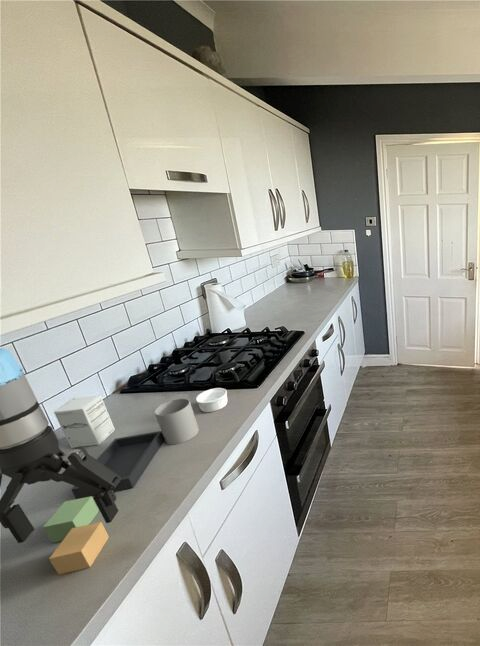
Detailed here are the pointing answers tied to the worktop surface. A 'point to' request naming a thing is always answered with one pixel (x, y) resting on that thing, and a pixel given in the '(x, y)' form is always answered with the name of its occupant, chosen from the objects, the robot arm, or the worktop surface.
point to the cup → (176, 421)
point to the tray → (127, 459)
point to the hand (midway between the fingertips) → (70, 526)
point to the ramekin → (212, 399)
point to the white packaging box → (85, 421)
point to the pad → (70, 517)
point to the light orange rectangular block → (79, 548)
